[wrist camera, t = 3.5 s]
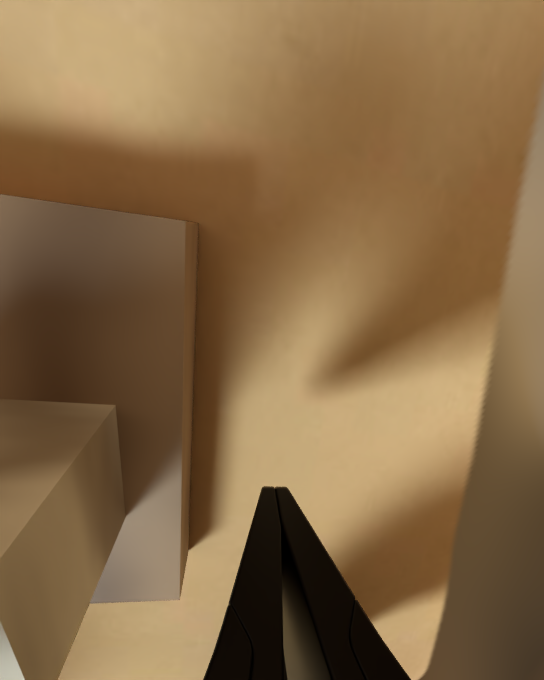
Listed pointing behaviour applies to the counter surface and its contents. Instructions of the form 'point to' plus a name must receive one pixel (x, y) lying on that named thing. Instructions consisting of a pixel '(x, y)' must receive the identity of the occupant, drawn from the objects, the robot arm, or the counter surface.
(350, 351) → the counter surface
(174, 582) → the channel board
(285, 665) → the robot arm
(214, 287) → the counter surface
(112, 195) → the counter surface
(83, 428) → the maple block
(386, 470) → the counter surface
